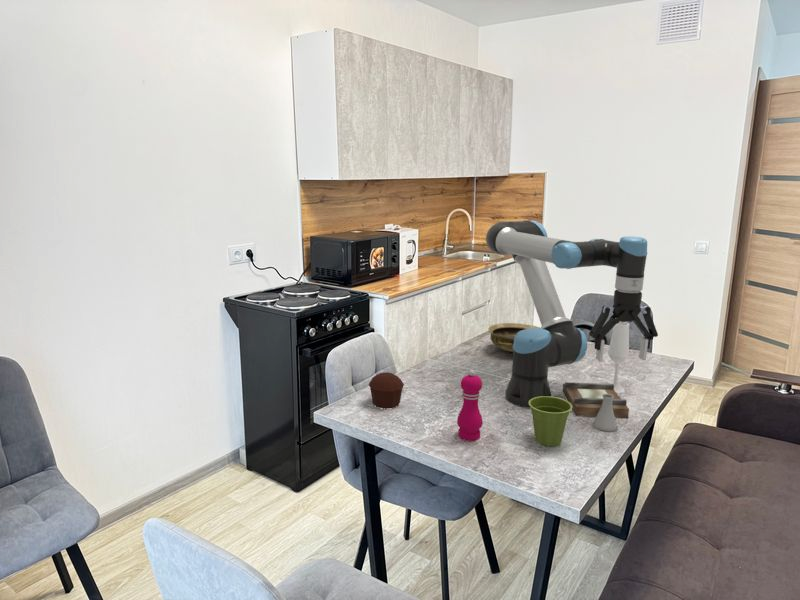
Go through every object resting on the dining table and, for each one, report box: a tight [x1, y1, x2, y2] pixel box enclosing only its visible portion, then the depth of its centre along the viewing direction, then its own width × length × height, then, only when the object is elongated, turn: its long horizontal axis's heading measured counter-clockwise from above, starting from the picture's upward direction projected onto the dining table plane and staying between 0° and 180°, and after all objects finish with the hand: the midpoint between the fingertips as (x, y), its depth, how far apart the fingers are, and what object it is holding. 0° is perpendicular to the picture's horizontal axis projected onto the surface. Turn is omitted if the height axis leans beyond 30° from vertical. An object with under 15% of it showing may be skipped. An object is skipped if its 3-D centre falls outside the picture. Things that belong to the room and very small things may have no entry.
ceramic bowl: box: [488, 322, 541, 356], centre depth 235 cm, size 30×24×10 cm
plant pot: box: [529, 396, 573, 447], centre depth 157 cm, size 12×12×11 cm
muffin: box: [368, 371, 405, 410], centre depth 182 cm, size 12×11×10 cm
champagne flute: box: [607, 321, 630, 394], centre depth 194 cm, size 7×7×24 cm
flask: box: [592, 394, 618, 433], centre depth 167 cm, size 7×7×10 cm
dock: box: [561, 381, 630, 419], centre depth 184 cm, size 16×20×4 cm
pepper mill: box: [456, 369, 483, 442], centre depth 159 cm, size 7×7×20 cm
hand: (620, 359), depth 168 cm, fingers open, 13 cm apart
